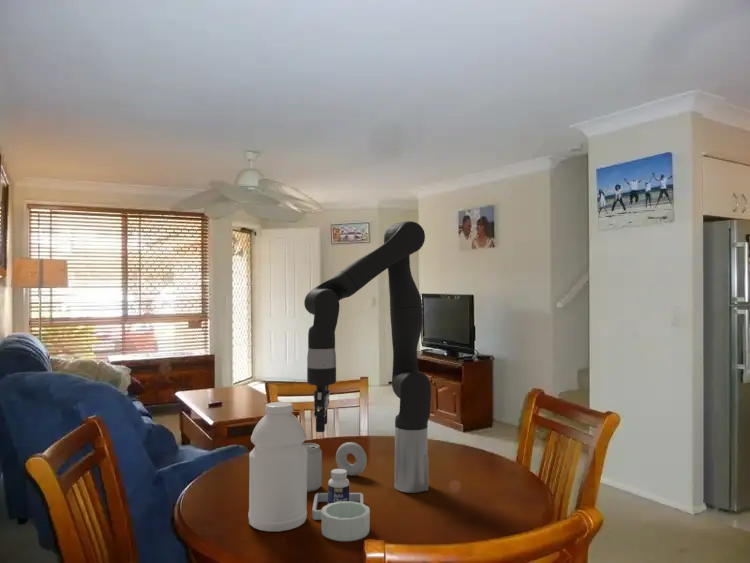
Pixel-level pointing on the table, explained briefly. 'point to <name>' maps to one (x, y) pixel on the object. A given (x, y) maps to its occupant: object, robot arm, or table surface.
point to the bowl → (345, 521)
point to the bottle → (278, 471)
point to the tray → (324, 498)
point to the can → (313, 466)
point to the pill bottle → (338, 486)
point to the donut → (359, 456)
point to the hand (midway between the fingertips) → (321, 427)
